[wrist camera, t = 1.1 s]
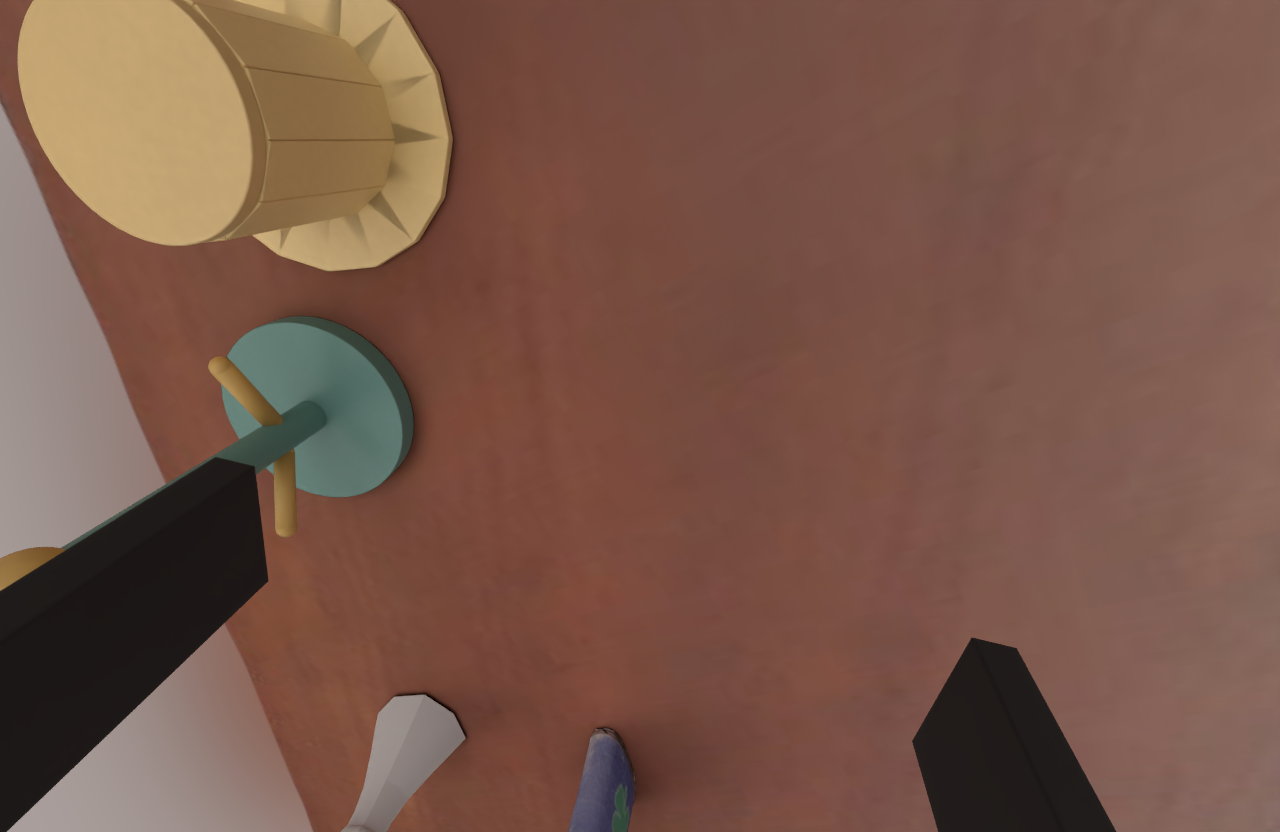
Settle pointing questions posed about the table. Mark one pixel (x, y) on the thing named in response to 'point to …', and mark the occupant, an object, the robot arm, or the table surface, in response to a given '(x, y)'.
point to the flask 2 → (605, 786)
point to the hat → (243, 121)
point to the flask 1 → (403, 758)
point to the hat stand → (297, 419)
